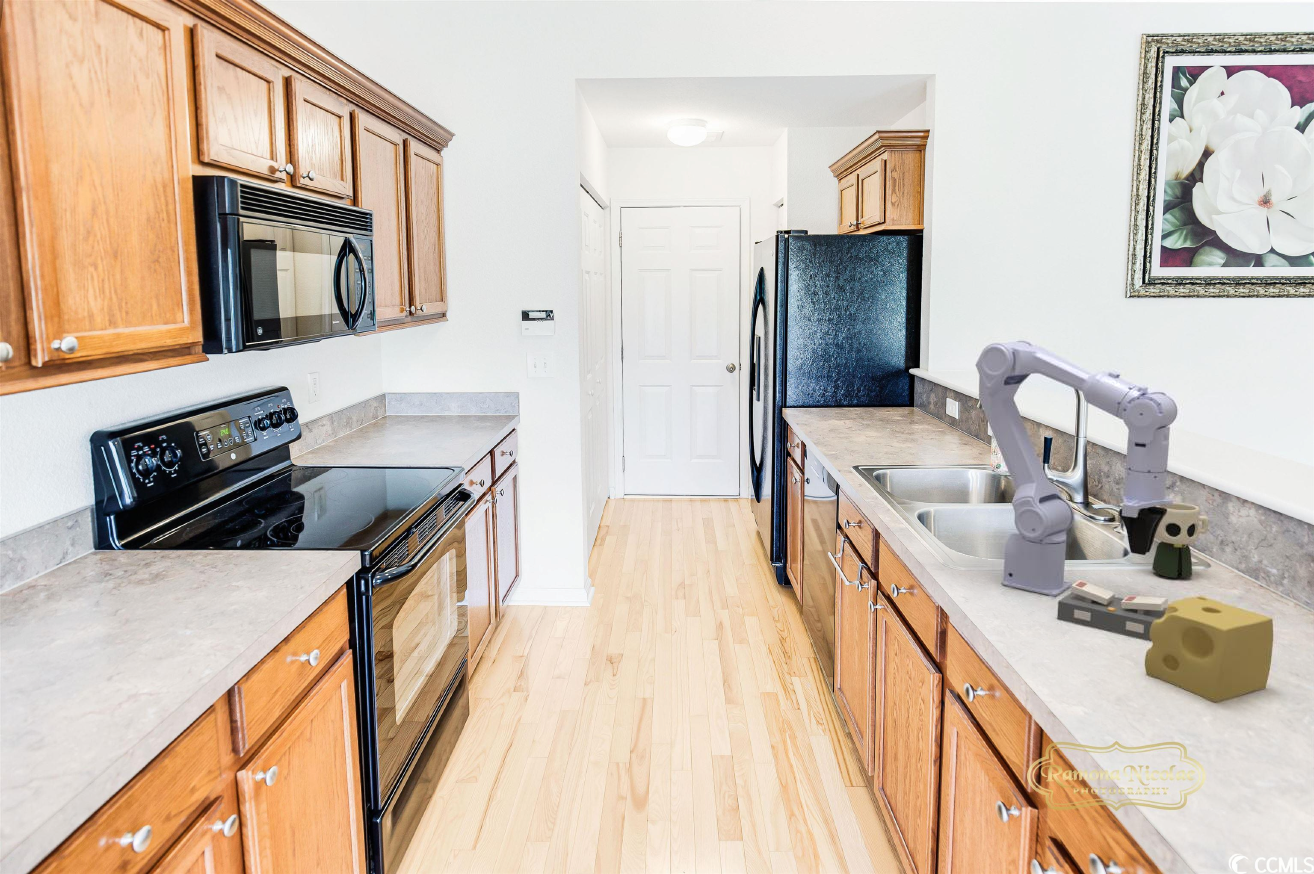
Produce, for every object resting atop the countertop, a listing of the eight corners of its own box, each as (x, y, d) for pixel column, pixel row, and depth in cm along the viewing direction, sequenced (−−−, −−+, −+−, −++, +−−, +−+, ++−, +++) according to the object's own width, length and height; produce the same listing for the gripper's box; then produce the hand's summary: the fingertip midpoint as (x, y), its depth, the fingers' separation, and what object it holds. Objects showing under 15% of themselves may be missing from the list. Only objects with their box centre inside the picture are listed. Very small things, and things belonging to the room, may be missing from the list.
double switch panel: (1056, 619, 139) (1058, 597, 138) (1075, 606, 145) (1076, 584, 144) (1161, 643, 129) (1163, 620, 128) (1177, 628, 134) (1179, 605, 134)
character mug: (1147, 580, 157) (1153, 510, 155) (1132, 568, 164) (1136, 501, 162) (1213, 582, 155) (1219, 511, 153) (1194, 570, 162) (1199, 501, 160)
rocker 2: (1121, 608, 134) (1120, 601, 134) (1129, 602, 137) (1128, 595, 137) (1161, 610, 130) (1160, 603, 130) (1168, 604, 133) (1167, 597, 133)
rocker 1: (1070, 591, 139) (1071, 584, 139) (1078, 585, 142) (1079, 579, 142) (1106, 604, 136) (1107, 598, 135) (1113, 598, 138) (1115, 592, 138)
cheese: (1143, 674, 119) (1148, 604, 117) (1196, 660, 123) (1202, 592, 121) (1217, 706, 109) (1224, 630, 108) (1273, 689, 113) (1280, 616, 112)
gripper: (1160, 479, 130) (1154, 567, 133) (1187, 465, 141) (1180, 547, 143) (1110, 473, 135) (1104, 558, 137) (1139, 460, 145) (1133, 539, 148)
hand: (1140, 552), depth 140 cm, fingers closed
